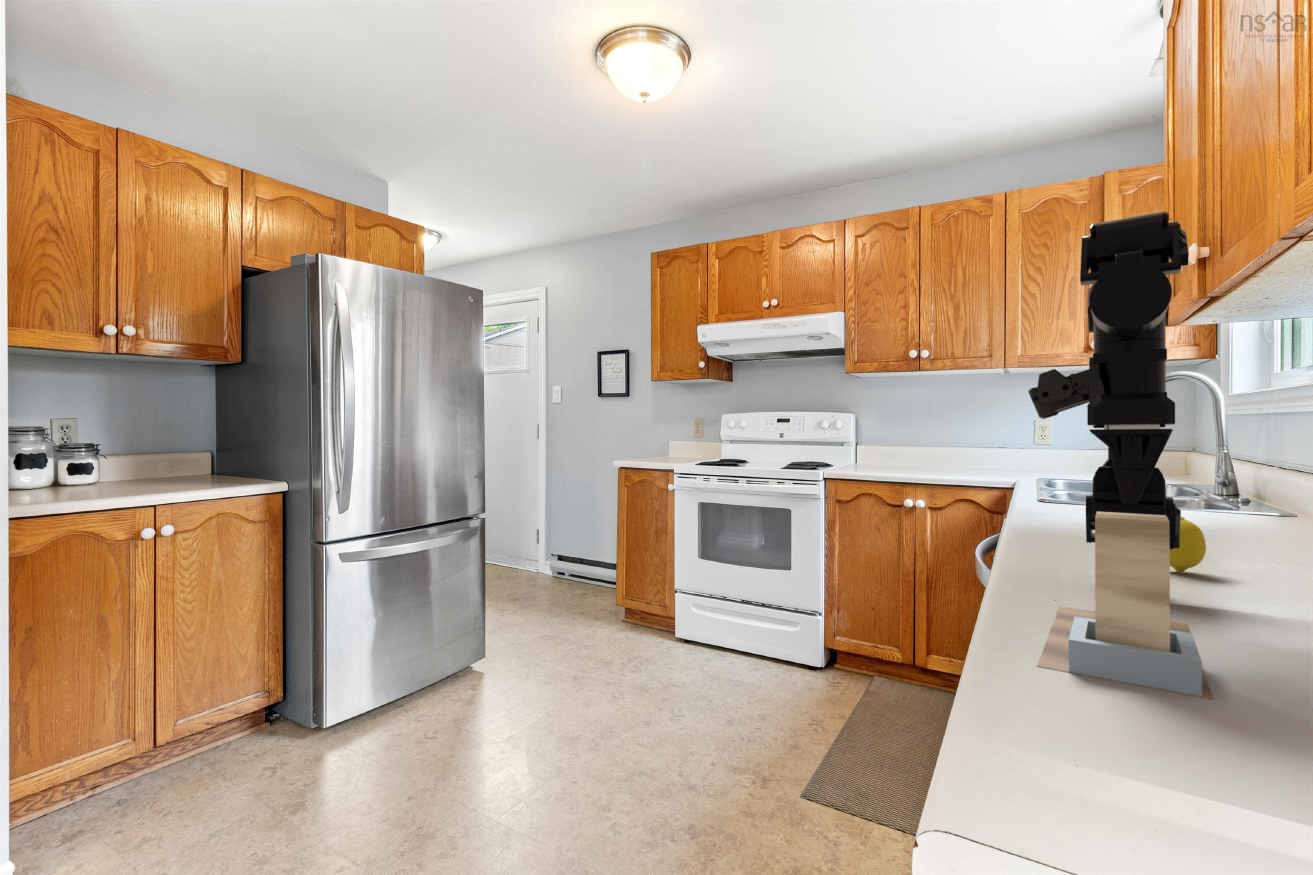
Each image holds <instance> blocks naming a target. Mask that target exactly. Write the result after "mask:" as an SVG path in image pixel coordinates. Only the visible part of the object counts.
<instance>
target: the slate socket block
mask: <svg viewBox="0 0 1313 875" xmlns="http://www.w3.org/2000/svg"><path fill="white" fill-rule="evenodd" d="M1202 664H1203V662H1202V658H1201V656H1200V652H1199V650H1198V646H1197V645H1196V641H1195V638H1194V635H1193V633H1192V632H1190V633H1187V632H1180V631H1173V630H1170V652H1166V651H1159V650H1153V649H1147V648H1141V647H1134V646H1128V645H1122V644H1115V643H1109V642H1103V641H1097V640H1095V619H1089V618H1082V617H1075V618H1074V621H1073V625H1072V629H1071V632H1070V636H1069V672H1074V673H1079V674H1084V675H1090V676H1095V677H1100V678H1105V679H1111V680H1116V681H1121V682H1127V683H1132V684H1137V685H1143V686H1148V687H1153V688H1159V689H1164V690H1169V691H1175V692H1180V693H1185V694H1191V695H1196V696H1201V697H1202V668H1203V666H1202ZM1079 674H1078V675H1079ZM1084 675H1083V676H1084ZM1100 678H1099V679H1100ZM1105 679H1104V680H1105ZM1116 681H1115V682H1116ZM1121 682H1120V683H1121ZM1132 684H1131V685H1132ZM1137 685H1136V686H1137ZM1153 688H1152V689H1153ZM1169 691H1168V692H1169ZM1185 694H1184V695H1185ZM1201 697H1200V698H1201Z"/></svg>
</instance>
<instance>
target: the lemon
mask: <svg viewBox="0 0 1313 875" xmlns="http://www.w3.org/2000/svg"><path fill="white" fill-rule="evenodd" d="M1206 550H1207V544H1206V538H1205V536H1204V534H1203V531H1202V530H1201V529H1200V527H1198V525H1197V524H1195V523H1194V522H1192V521H1190V520H1187V519H1185V517H1183V516H1181V519H1180V548H1173V550H1172V549H1170V567H1171V568H1173V569H1174V571H1176V572H1177V571H1179V572H1178V573H1184V572H1185V571H1187V570H1188V569H1190V568H1194V567H1196V566H1198V565H1200V563H1201V562H1202V561H1203V560H1204V558H1205V555H1206Z"/></svg>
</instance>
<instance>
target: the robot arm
mask: <svg viewBox="0 0 1313 875" xmlns="http://www.w3.org/2000/svg"><path fill="white" fill-rule="evenodd" d="M1089 233H1090V234H1089V235H1085V236H1082V237H1081V252H1080V271H1079V272H1080V273H1079V278H1080V279H1079V281H1080V282H1079V283H1080V285H1081V286H1087V285H1088V286H1089V285H1091V286H1090V287H1089V289H1088V292H1087V293H1088V294H1087V321H1088V322H1087V324H1088V333H1090V334H1091V333H1092V334H1093V353H1092V356H1090V357H1089V359H1088V360H1089V361H1088V364H1089V366H1088V369H1085V370H1083V371H1079V372H1076V373H1070V374H1069V375H1067V376H1065V375H1064V374H1062V373H1061V372H1060V371H1059V370H1056V369H1055V368H1053V369H1050V370H1048V371H1044V372H1042V373H1040V374H1038V380H1037V386H1035V387H1034V386H1033V387H1031V388H1030V389H1029V390H1028V391H1027V392H1028V394H1029V397H1030V399H1031V402H1032V404H1033V406H1034V408H1035V411H1036V413H1037V416H1038V417H1039V419H1042V420H1044V419H1048V418H1051V417H1055V416H1058V414H1059V413H1061V412H1063V411H1067V410H1071V409H1072V408H1076V407H1079V406H1083V405H1086V404H1087V406H1086V408H1087V410H1086V411H1087V413H1086V414H1087V417H1086V419H1087V422H1086V423H1087V426H1089V427H1090V426H1092V427H1093V429H1089V432H1090V433H1091V434H1092V435H1093V436H1095V437H1096V438H1097V439H1098V440H1099V441H1101V442H1102V443H1103V444H1104V445H1106V446H1107V447H1108V448H1107V449H1108V450H1107V451H1108V452H1107V456H1108V457H1107V460H1105V462H1104V463H1103V465H1102V466H1098V468H1097V469H1096V471H1095V473H1094V475H1093V478H1092V493H1085V534H1086V535H1085V536H1086V538H1085V539H1086V542H1085V543H1086V544H1088V543H1089V544H1092V543H1095V532H1094V531H1095V516H1096V513H1097V512H1115V513H1132V514H1150V515H1166V516H1167V518H1168V520H1169V523H1170V549H1172V550H1173V548H1180V519H1181V517H1182V511H1181V509H1180V508H1179V507H1177V506H1176V502H1174V498H1173V497H1174V496H1173V497H1172V496H1171V497H1170V496H1167V493H1166V491H1167V490H1166V479H1165V478H1164V474H1163V472H1162V471H1161V469H1160V467H1159V468H1158V467H1156V465H1157V463H1158V462H1159V459H1160V457H1161V455H1162V453H1163V451H1164V449H1165V447H1166V445H1167V442H1168V441H1169V439H1170V437H1171V435H1172V433H1173V432H1174V430H1173V428H1166V425H1167V426H1168V425H1171V426H1172V425H1176V402H1175V401H1173V400H1172V399H1171V398H1170V397H1168V391H1166V390H1167V388H1166V387H1167V386H1166V385H1167V384H1166V383H1167V382H1166V378H1167V377H1166V376H1167V375H1166V374H1167V372H1166V371H1167V370H1166V362H1167V360H1168V348H1167V347H1166V327H1168V325H1169V313H1170V312H1169V311H1170V303H1171V298H1172V292H1173V288H1172V284H1171V282H1170V280H1169V278H1168V276H1170V275H1176V274H1178V275H1179V274H1180V273H1181V272H1182V271H1181V270H1182V266H1183V267H1184V266H1189V255H1190V253H1189V245H1188V237H1187V232H1186V231H1185V230H1183V229H1182V227H1181V223H1179V221H1178V220H1176V221H1170V214H1169V212H1168V211H1161V212H1154V213H1149V214H1147V213H1146V214H1143V215H1137V216H1131V217H1125V218H1120V219H1115V220H1108V221H1104V222H1096V223H1092V224H1091V225H1090V227H1089Z"/></svg>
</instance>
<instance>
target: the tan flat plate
mask: <svg viewBox="0 0 1313 875" xmlns="http://www.w3.org/2000/svg"><path fill="white" fill-rule="evenodd" d="M1075 617H1082V618H1089V619H1095V610H1089V609H1082V608H1075V607H1074V608H1073V607H1067V606H1061V605H1060V606H1059V607H1058V609H1057V611H1056V615H1055V617H1054V619H1053V623H1052V626H1051V628H1050V631H1049V632H1048V636H1047V638H1046V641H1045V645H1044V646H1043V649H1042V651H1041V655H1040V656H1039V657H1040V658H1039V660H1038V662H1037V667H1038V668H1041V669H1048V670H1053V671H1058V672H1063V673H1068V674H1075V675H1079V676H1085V677H1091V678H1096V679H1101V680H1105V681H1110V682H1116V683H1117V682H1118V683H1123V684H1127V685H1133V686H1137V687H1141V688H1142V687H1143V688H1148V689H1154V690H1157V691H1158V690H1160V691H1164V692H1168V693H1169V692H1170V693H1175V694H1180V695H1184V696H1185V695H1186V696H1190V697H1196V698H1201V699H1206V700H1212V701H1214V697H1213V695H1212V691H1211V688H1210V685H1209V683H1208V679H1207V676H1206V674H1205V672H1204V671H1205V670H1204V668H1203V667H1202V697H1201V696H1196V695H1191V694H1185V693H1180V692H1175V691H1169V690H1164V689H1159V688H1153V687H1148V686H1143V685H1137V684H1132V683H1127V682H1121V681H1116V680H1111V679H1105V678H1100V677H1095V676H1090V675H1084V674H1079V673H1074V672H1069V636H1070V632H1071V629H1072V625H1073V621H1074V618H1075ZM1170 630H1173V631H1180V632H1187V633H1191V630H1190V628H1189V624H1188V623H1186V622H1185V623H1184V622H1177V621H1172V620H1170Z"/></svg>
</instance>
